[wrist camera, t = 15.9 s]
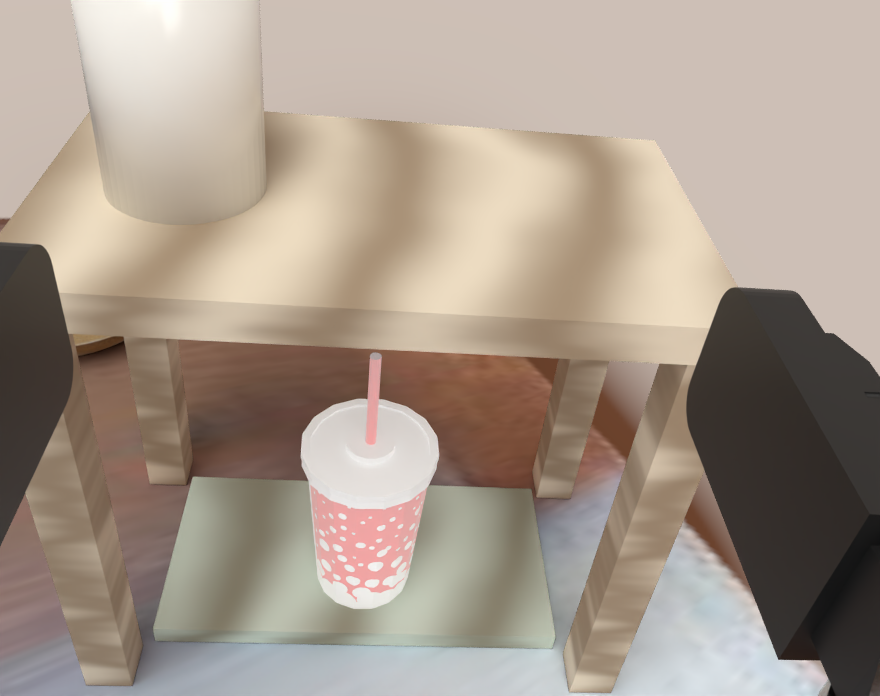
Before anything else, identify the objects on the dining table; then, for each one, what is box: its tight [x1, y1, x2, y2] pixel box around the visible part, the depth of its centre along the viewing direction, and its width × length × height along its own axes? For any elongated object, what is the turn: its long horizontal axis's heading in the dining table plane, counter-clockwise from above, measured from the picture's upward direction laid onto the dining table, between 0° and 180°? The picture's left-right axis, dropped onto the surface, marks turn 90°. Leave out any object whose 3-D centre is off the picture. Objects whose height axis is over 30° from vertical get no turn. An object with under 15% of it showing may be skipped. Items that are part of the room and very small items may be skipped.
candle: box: [71, 0, 267, 225], centre depth 27 cm, size 6×6×9 cm
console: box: [0, 112, 738, 693], centre depth 37 cm, size 24×14×22 cm, turn 92°
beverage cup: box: [301, 353, 439, 609], centre depth 38 cm, size 6×6×14 cm
